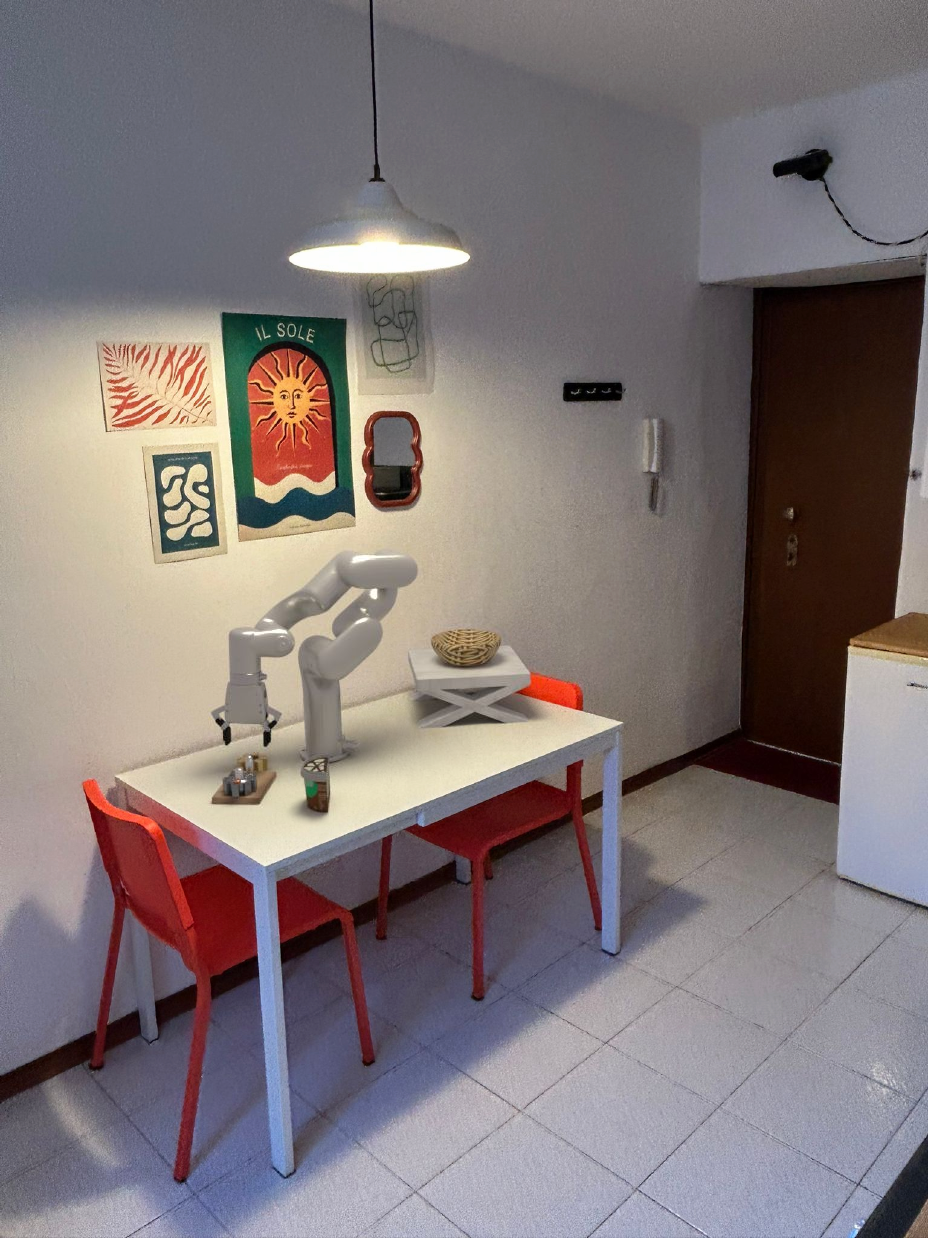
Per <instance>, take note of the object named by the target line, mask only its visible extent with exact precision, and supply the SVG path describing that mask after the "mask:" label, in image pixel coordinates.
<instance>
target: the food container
mask: <svg viewBox="0 0 928 1238" xmlns="http://www.w3.org/2000/svg"><path fill="white" fill-rule="evenodd" d="M300 777H302V778H303V781H304V788H305V789H304V790H305V797H306V805H307V809H309V810H311V811H312V812H317V813H329V811H330V810H329V809H330V803H331V780H330V778H331V775H330V762H329V754H321V755H316V756H313V757H310V758H308V759H306V760H303V762H302V765H301V766H300Z"/></svg>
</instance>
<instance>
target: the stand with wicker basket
mask: <svg viewBox="0 0 928 1238" xmlns="http://www.w3.org/2000/svg"><path fill="white" fill-rule="evenodd" d="M430 644H431V647H432V648H431V649H429V648H428V649H413V650H412V649H409V650H408V651H407V660H408V663H409V667H410V670H411V671H410V672H411V673H412V677H413V682H414V684H415V687H416V690H417V691H415V692H413V693H411V694H410V696H411V700H412V702H414V701H427V700H428V701H429V700H435V699H438V700H442V701H444V702H447V703H450V704H451V705H449V706H446V707H444V708H442V709H440V710H438V711H436V712H433V713H432V714H429V715H427V716H426V717H424V718H421V719H419V720H417V722H418V727H419V729H431V728H432V729H434V728H444V727H446V726H448V725H450V724H452V723H454V722H456V721H458V720H460V719H463V718H464V717H466V716H468V715H471V714H473V713H478V714H480V715H483V716H486V717H489V718H491V719H494V720H497V721H500V722H502V723H505V724H516V723H529V720H528V718H527V716H526V715H525V713H521V712H518V711H515V710H513V709H509V708H507V707H505V706H502V705H499V704H496V703H495V702H498V701H500V700H501V699H504V698H506V697H507V696H513V694H515V693H516V692H518V691H520V690H523V689H525V688H526V687H529V686H531V680H532V678H531V675H532V673H531V672H530V670H529V669H528V668H527V667H526V666H525V664H524V663H523V661H522V660H521V659H520V657H519V656H518V654H517V653H516V651H515V650H514V649H513V648H512V647H511V645H501V644H502V638H501V635H500V634H499V633H496V632H493V631H488V630H483V629H469V628H468V629H466V628H465V629H453V630H447V631H442V632H439V633H435V634H434V635H432V636H431V639H430ZM459 689H461V690H462V689H472V690H474V691H477V692H475V693H473V694H469V693H466V692H463V691H461V690H459Z"/></svg>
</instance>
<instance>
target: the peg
mask: <svg viewBox="0 0 928 1238" xmlns="http://www.w3.org/2000/svg"><path fill="white" fill-rule="evenodd" d="M245 763H246V772H247V774H252V773H253V774H254V768H253V757H252V756H250V755H248V756H246V758H245Z"/></svg>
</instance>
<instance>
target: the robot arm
mask: <svg viewBox="0 0 928 1238" xmlns="http://www.w3.org/2000/svg"><path fill="white" fill-rule="evenodd" d="M416 562H417V561H416V560H415V558H413V557H412V556H411V555H409V554H406V553H403V552H400V551H396V550H392V549H389V548H388V549H387V548H386V549H385V548H384V549H383V548H382V549H379V550H377V551H376V552H375V553H374V554H373V555H372V554H363V553H361V552H360V553H359V552H357V551H353V550H342V551H340V552H338V553H336V554H335V556H333V557H332V559H330V560H329V561H328V563H326V565H324V566H323V567H322V568H321V569H320V570H319V571H318V572H317V573H316V574H315V576H313V578H311V579H310V580H309V581H308V582H307V583H306V584H305V585H304V586H302V588H300V589H298V590H296V591H294V592H293V593H292V594H290V595H288V596H287V597H285V598H284V599H282V600H280V601H279V602H278V603H276V604H275V605H274V606H272V608H270V609H269V611H267V612H266V613H265V614H264V615H263V616H262V617H261V618H260V619H259V620H258V621H257V623H256V624H255V625H254V627H251V626H240V627H236V628H232V629H231V630H230V631H229V633H228V660H229V661H228V662H229V663H228V665H229V681H228V682H227V685H226V690H225V698H224V704H223V705H222V706H219V707H217V708H215V709H213V710H212V711H211V713H210V714H211V716H212V718H213V719H214V721H215V724H217V725H218V727H220V730H222V741H223V742H224V746H225V747H226V746H227V747H228V746H229V745H230V744H231V742H232V728H231V726H230V724H238V725H260V726H261V727H262V729H264V730H263V733H262V739H263V740H262V741H263V742H262V743H263V747H264V748H267V747H268V746H269V745H270V743H272V729H273V728H274V727H276V726H277V724H278V723H279V721H280V719H281V717H282V715H283V714H282V712H280V711H278V710H277V709H274V708H273V707H271V706H269V698H268V692H267V686H266V683H265V681H264V680H268V674H267V673H263V670H262V658H284V657H287V656H288V655H290V654H291V653H292V651H294V650H295V649H294V648H295V645H296V641H295V637H294V634H293V633H292V632H291V631H290V629H292V628H293V627H294V626H295V625H297V624H299V622H302V621H303V620H306V619H307V618H310V617H315V616H319V615H322V614H325V613H327V612H329V611H330V610H331V609H332V607H333V606H334V605H336V604H337V603H338V602H339V600H340V599H342V597H343V596H344V595H345V594H347V592H349V590H351V588H352V587H353V588H356V589H362V590H364V591H363V592H362V593H360V595H359V596H358V597H356V599H354V600H353V601H352V602H351V603H350V604H349V605H348V606H346V607H345V608H344V609H343V610H342V611H341V612H339V614H337V616H336V617H335V618H334V620H333V621H332V624H331V625H332V626H331V631H332V634H333V636H334V637H335V638H334V639H330V638H329V637H327V636H324V635H319V634H318V635H317V634H316V635H311V636H308V637H307V638H305V639H304V640H303V641H302V643H301V644H300V646H299V648H298V653H297V660H298V661H297V662H298V667H299V672H300V676H301V677H300V679H301V686H302V696H303V697H302V702H303V718H304V719H303V721H304V724H303V725H304V738H305V746H303V748H302V749H301V750H299V756H300V758H301V759H302V760H303V761H305V760H306V759H308V758H310V757H313V756H316V755H321V754H329V763H333V762H338V761H341V760H343V759H344V758H346V757H348V755H349V753H350V750H354V751H355V750H357V751H358V750H360V742H359V741H357V739H350V740H349V739H347V738H346V734H344V733H343V723H342V722H343V721H342V705H341V704H342V702H341V684H340V681H342V680H343V679H345V678H346V677H347V676H349V675H350V674H351V673H352V672H353V671H355V670H356V668H358V667H359V665H361V664H362V663H363V662H364V661H365V660H366V659H368V658H369V657H370V655H371V654H373V652H374V651H375V650H376V649H377V648H378V647H379V646H380V643H381V641H382V638H383V633H384V632H383V631H384V630H383V626H382V624H381V621H382V620H384V618H385V617H386V616H387V615H388V614H389V613H390V611H392V609H393V607H394V605H395V603H396V601H397V596H398V592H399V589H401V588H405V587H408V586H409V585H411V584H413V583H414V581H415V580H416V579H417V576H418V574H419V569H418V564H417V563H416ZM223 712H224V719H223V718H222V717H221V716H220V714H222V713H223ZM270 715H271V716H273V719H272V721H270V720H269V716H270Z"/></svg>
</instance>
